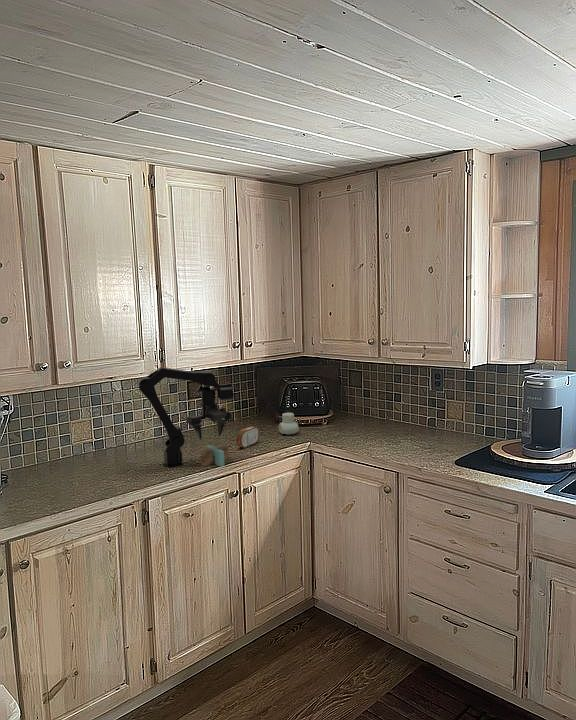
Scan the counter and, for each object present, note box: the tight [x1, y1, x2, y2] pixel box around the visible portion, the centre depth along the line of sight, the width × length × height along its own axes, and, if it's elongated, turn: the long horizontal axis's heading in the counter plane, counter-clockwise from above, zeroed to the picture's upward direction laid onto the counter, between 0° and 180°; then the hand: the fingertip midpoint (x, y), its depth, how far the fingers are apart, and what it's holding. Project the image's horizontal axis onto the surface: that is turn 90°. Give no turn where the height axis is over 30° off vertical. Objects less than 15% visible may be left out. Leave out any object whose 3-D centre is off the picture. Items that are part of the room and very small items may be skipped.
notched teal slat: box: [205, 445, 225, 467], centre depth 251 cm, size 12×2×6 cm, turn 36°
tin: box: [236, 425, 260, 448], centre depth 277 cm, size 15×3×8 cm, turn 149°
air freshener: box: [278, 412, 300, 436], centre depth 297 cm, size 11×8×10 cm
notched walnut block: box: [200, 445, 230, 467], centre depth 251 cm, size 12×2×6 cm, turn 125°
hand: (210, 437), depth 254 cm, fingers open, 9 cm apart
